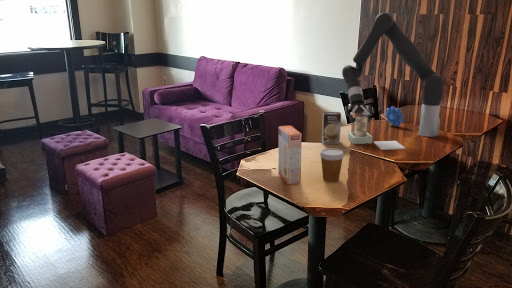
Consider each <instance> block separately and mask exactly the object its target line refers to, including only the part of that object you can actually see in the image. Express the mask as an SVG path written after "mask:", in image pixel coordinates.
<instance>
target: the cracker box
mask: <svg viewBox="0 0 512 288" xmlns="http://www.w3.org/2000/svg"><path fill="white" fill-rule="evenodd" d="M302 136H303V135H302V133H301V132H300V131H299V130H297V129H296V128H295V127H294V126H293V125H281V126H278V170H277V171H278V175H280V177H281V178H282V180H284V181H285V183H286V185H298V184H301V183H302V182H301V181H302V140H303V139H302V138H303V137H302Z"/></svg>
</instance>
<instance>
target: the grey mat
mask: <svg viewBox="0 0 512 288" xmlns="http://www.w3.org/2000/svg"><path fill="white" fill-rule="evenodd" d="M372 144H374V145H375V146H376V147H377V148H378V149H379V150H381V151H382V150H383V151H385V150H405V149H406V147H405V146H403V144H401V143H399V142H398V141H397V140H384V141H383V140H382V141H379V140H378V141H372Z"/></svg>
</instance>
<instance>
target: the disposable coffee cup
mask: <svg viewBox="0 0 512 288" xmlns="http://www.w3.org/2000/svg"><path fill="white" fill-rule="evenodd" d="M320 151H321V152H319V157H320V160H321V170H322V171H321V172H322V178H323V179H322V180H323V181H325V182H327V183H338V182H339V180H340V177H341V175H340V174H341V170H342V165H343V159H344V156H345V154H344V152H343V150H341V149H339V148H333V147H332V148H331V147H330V148H323V149H321V150H320Z"/></svg>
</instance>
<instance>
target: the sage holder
mask: <svg viewBox="0 0 512 288" xmlns="http://www.w3.org/2000/svg"><path fill="white" fill-rule="evenodd" d="M347 139H348V140H349V141H350V142H351V143H352V145H360V144H363V145H365V144H366V143H367V144H373V136H372V135H371V134H370V133H369V132H367V133H366V137H354V131H353V132H352V131H350V132H349V131H348V135H347Z"/></svg>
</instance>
